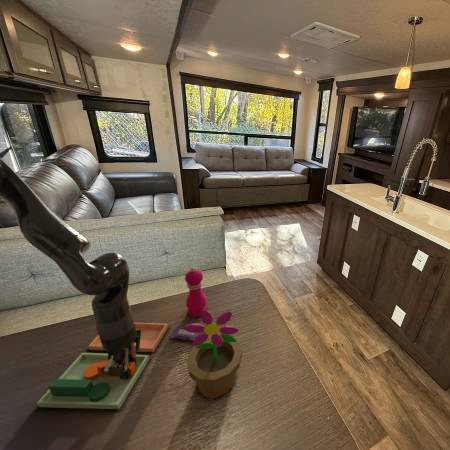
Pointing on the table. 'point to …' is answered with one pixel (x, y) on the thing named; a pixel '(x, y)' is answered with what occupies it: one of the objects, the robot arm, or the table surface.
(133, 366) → the orange spoon
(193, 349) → the flowerpot
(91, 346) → the orange tray
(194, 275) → the pepper mill
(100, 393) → the green spoon
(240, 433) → the table surface
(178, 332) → the snack package
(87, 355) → the green tray
